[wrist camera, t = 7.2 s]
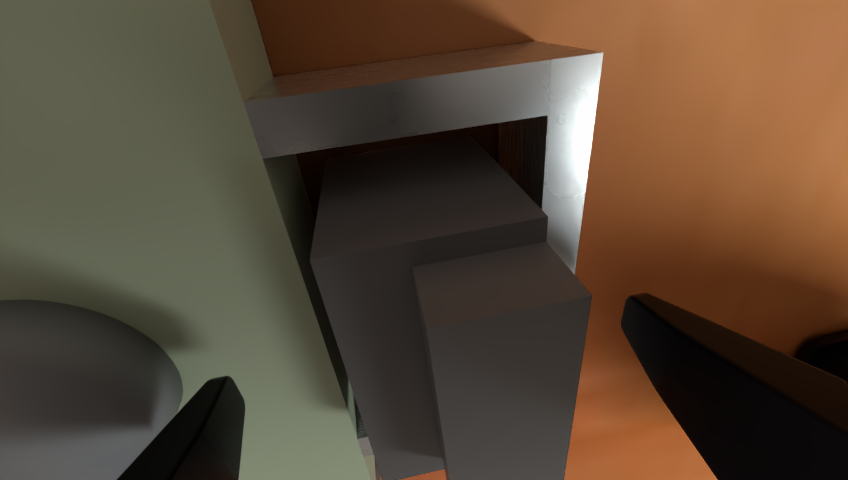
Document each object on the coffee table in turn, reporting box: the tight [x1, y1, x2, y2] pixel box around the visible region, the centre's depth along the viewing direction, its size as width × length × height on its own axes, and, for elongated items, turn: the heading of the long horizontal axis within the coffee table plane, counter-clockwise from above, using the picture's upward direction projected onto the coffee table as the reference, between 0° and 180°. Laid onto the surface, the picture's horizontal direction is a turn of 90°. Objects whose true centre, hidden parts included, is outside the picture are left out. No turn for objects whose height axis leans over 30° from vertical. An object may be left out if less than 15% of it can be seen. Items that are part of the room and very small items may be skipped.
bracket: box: [243, 41, 603, 457], centre depth 11 cm, size 6×11×3 cm, turn 6°
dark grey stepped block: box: [310, 135, 592, 480], centre depth 10 cm, size 4×7×6 cm, turn 7°
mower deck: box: [0, 0, 380, 480], centre depth 10 cm, size 9×19×4 cm, turn 6°
